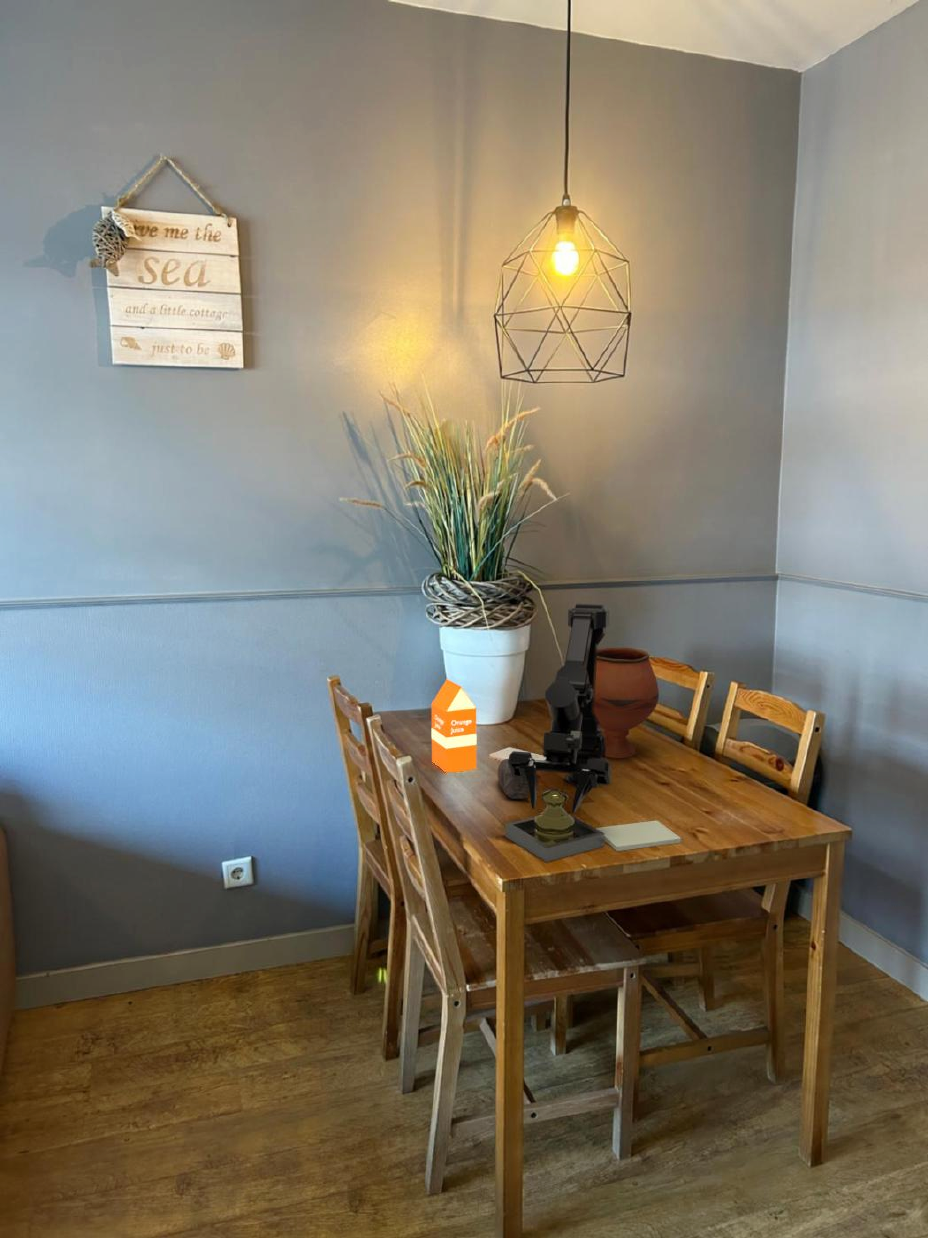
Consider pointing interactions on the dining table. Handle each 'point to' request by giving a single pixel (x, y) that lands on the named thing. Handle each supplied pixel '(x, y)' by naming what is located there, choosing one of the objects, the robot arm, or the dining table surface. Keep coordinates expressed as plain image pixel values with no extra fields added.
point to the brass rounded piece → (554, 819)
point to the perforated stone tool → (512, 782)
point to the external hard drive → (506, 752)
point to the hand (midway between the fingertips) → (553, 810)
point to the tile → (638, 835)
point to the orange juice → (453, 729)
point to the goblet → (623, 695)
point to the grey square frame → (585, 842)
